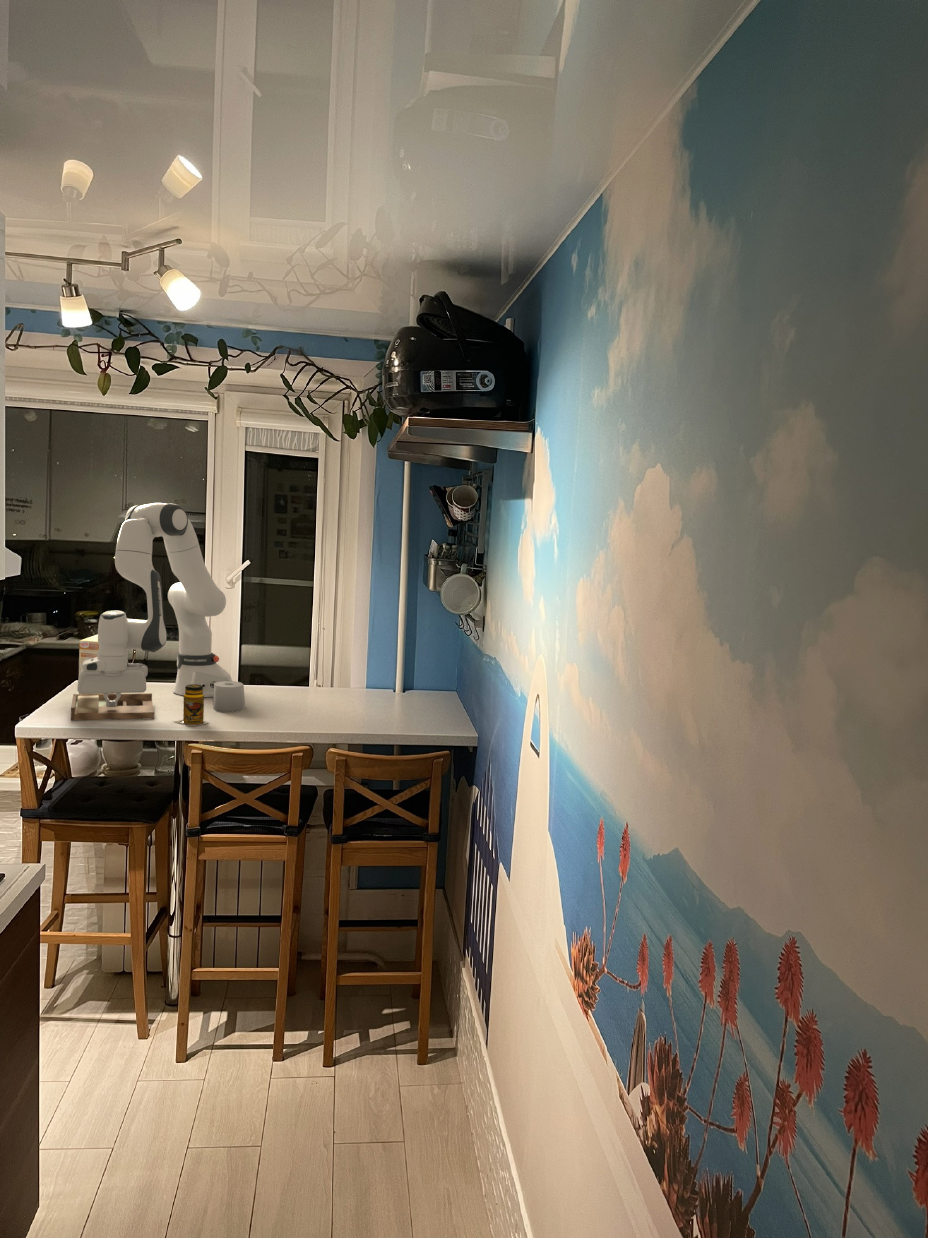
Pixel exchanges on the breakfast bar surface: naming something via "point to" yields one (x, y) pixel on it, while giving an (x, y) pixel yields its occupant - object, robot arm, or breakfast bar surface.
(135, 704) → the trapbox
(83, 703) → the block
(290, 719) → the breakfast bar surface
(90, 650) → the coffeecake box
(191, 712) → the condiment
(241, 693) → the toilet tissue
